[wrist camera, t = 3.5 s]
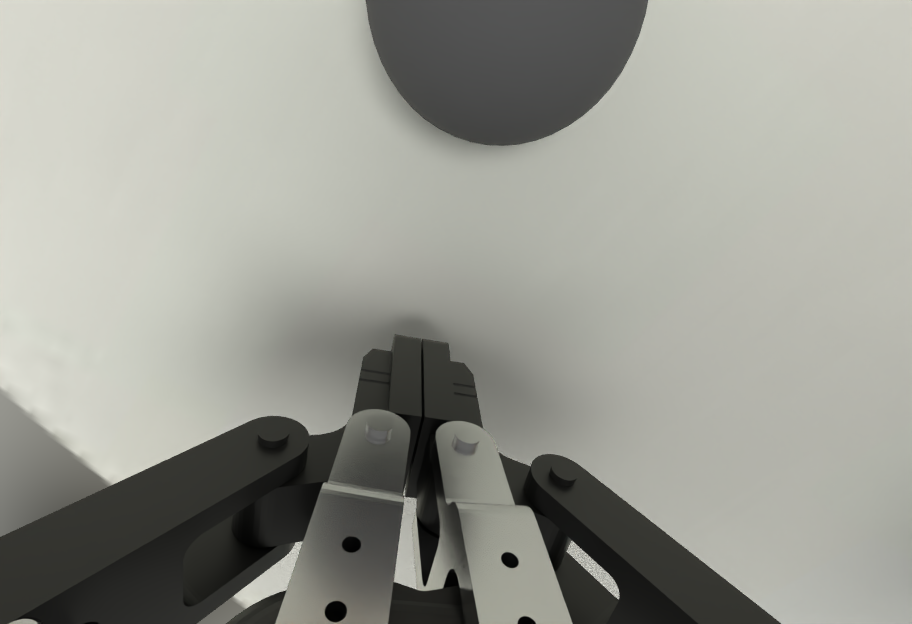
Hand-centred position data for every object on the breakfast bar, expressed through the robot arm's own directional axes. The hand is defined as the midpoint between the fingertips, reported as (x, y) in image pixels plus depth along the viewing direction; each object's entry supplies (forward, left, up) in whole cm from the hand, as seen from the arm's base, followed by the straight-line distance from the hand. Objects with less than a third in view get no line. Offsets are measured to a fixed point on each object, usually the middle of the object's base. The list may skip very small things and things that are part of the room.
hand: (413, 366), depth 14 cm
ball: (+5, -7, 0) cm, 9 cm away
